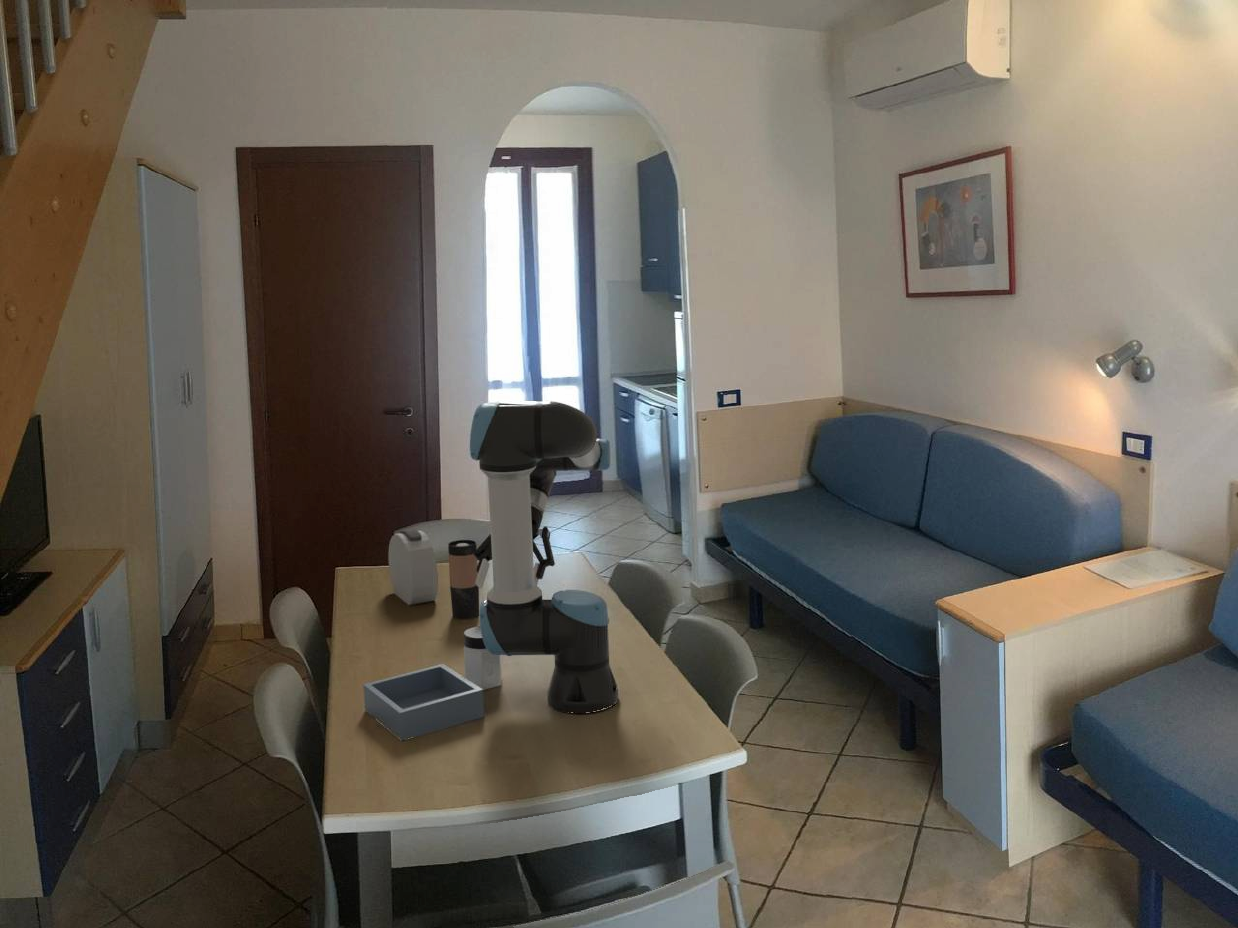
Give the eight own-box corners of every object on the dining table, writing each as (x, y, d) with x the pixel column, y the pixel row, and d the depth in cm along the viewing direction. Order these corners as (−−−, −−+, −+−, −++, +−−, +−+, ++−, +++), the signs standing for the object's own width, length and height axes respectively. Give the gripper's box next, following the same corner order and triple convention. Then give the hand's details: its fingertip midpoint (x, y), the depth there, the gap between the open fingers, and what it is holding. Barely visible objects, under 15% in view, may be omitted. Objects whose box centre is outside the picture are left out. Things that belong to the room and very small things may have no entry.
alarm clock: (439, 604, 287) (435, 535, 283) (414, 609, 283) (409, 539, 280) (414, 585, 305) (410, 520, 302) (390, 589, 301) (385, 524, 298)
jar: (474, 693, 225) (471, 641, 222) (458, 681, 231) (455, 630, 229) (510, 683, 230) (508, 632, 227) (493, 672, 236) (491, 622, 234)
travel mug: (486, 613, 278) (482, 541, 275) (467, 621, 272) (463, 548, 268) (464, 608, 282) (460, 538, 279) (445, 616, 276) (441, 544, 273)
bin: (484, 716, 212) (482, 689, 211) (401, 741, 202) (399, 712, 201) (444, 689, 227) (442, 663, 226) (365, 711, 217) (363, 684, 215)
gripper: (580, 521, 249) (558, 599, 238) (487, 515, 257) (462, 591, 246) (571, 505, 243) (549, 584, 232) (477, 499, 251) (451, 576, 240)
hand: (504, 588), depth 239 cm, fingers open, 13 cm apart
